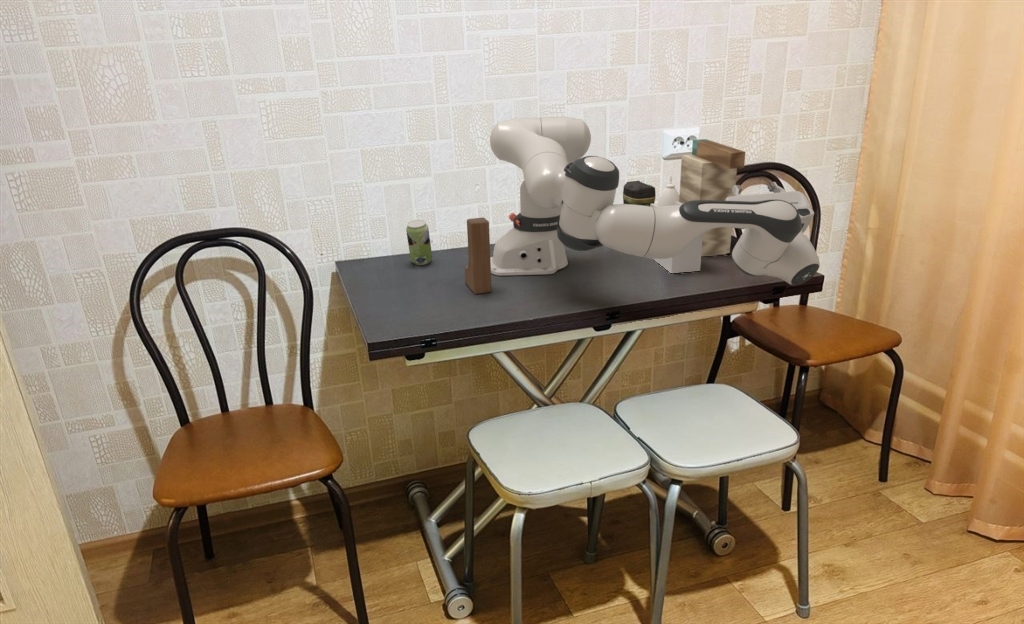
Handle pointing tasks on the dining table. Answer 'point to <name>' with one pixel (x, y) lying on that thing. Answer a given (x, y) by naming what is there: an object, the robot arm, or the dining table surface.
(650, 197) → the coffee jar
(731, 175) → the tall patterned box
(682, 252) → the upright white box
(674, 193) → the sauce bottle
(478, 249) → the wooden block
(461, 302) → the dining table surface
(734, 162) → the brown rectangular block
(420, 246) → the beverage can
